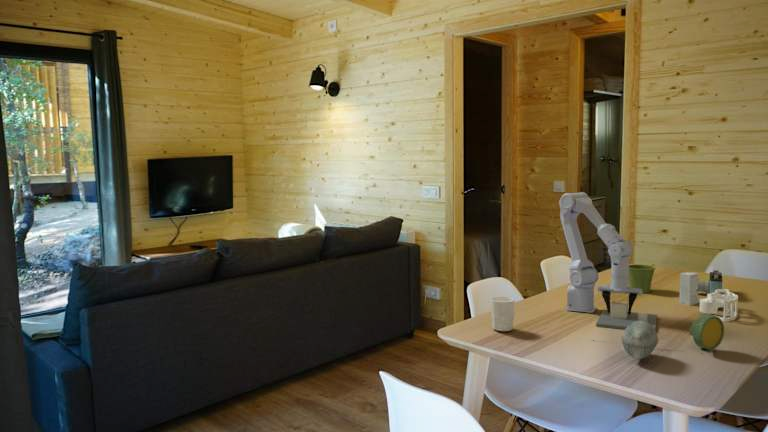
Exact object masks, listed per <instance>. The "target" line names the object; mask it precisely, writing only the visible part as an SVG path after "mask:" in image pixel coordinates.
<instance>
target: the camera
mask: <svg viewBox="0 0 768 432" xmlns="http://www.w3.org/2000/svg"><path fill="white" fill-rule="evenodd" d="M719 271H720V270H719V269H713V270H712V271H710V272H709V276H708V277H709V279H707V280H703V281H702V280H698V292H703V293H705V294H708V293H714V292H715V290H718V289H723V273H722V272H719ZM720 294H723V292H720Z"/></svg>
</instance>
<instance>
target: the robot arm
mask: <svg viewBox="0 0 768 432" xmlns="http://www.w3.org/2000/svg"><path fill="white" fill-rule="evenodd" d="M592 200H593V199H592V198H590V197H589V194H587V193H586V192H583V191H580V192H572V193H571V192H570V193H569V192H567V193H566V192H565V193H563V194H562V196H561V197H560V199H559V201H558V205H559V208H560V213H559V217H560V218H559V219H560V222H561V227H562V229H563V233H564V236H565V239H566V243H567V247H568V248H567V249H568V252H569V255H570V257H571V261H572V262H571V265H570V266H569V268H568V269H569V270H568V271H569V281H570V283H571V285H568V287H567V291H566V296H567V297H566V311H570V312H581V313H590V314H591V313H592V314H593V313H594V312H595V311H596V309H597V307H596V306H595V286H596V283H598V280H599V272H598V270H597V269H596V268H595V266H594V263H593V262H592V261H591V260H590V259H588V256H587V252H586V249H585V246H584V242H583V238H582V234H581V232H580V229H579V225H578V221H577V218H578V217H579V216H580V214H583V215H584V216H585V217H586V218H587V219H588V220H589V221H590V222H591V223H592V224H593V226H594V227H595V228H596V229H597V233H596V234H597V236H598V237H599V238H600V239H601V241H603V243H604V244H605V245H606V247H607V248H608V249H607V253H608V255H609V256H610V262H611V263H610V264H611V266H610V267H611V269H610V271H611V273H610V285H597V288H596V289H597V290H596V291H597V292H598V293H600V292H601V296H602V298H603V300H604V303H605V305H606V310H607V311H608V313H610V310H611V293H615V294H627V295H628V315H630V314H631V312H632V308H633V306H634V303H635V302H636V299H637V298H638V296H642V295H643V293H642V289H639V288H632V287H630V285H629V265H630V256H631V255H632V254H633V253H634V252H633V251H634V249H633V245H632V244H631V242H630V241H629V240H626V239H624V237H623V236H621V235H620V234H619V232H618V231H617V230H616V227H615V226H614V225H613V224H611V223H606V221H605V220H604V219H603V217H602V215H601V214H600V213H599V212H598V210H597V208H596V207H595V206H594V204H593V201H592Z"/></svg>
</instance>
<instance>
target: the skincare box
mask: <svg viewBox="0 0 768 432" xmlns="http://www.w3.org/2000/svg"><path fill="white" fill-rule="evenodd" d="M698 281H699V273H697V272H691V271H687V272H681V273H679V301H678V303H679V304H680V305H685V306H689V307H690V306H691V307H692V306H694V305H696V304H698V303H699V291H698Z"/></svg>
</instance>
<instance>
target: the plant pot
mask: <svg viewBox="0 0 768 432" xmlns="http://www.w3.org/2000/svg"><path fill="white" fill-rule="evenodd" d="M656 268H657V267H656V266H653V265H648V264H629V287H632V288H639V289H642V294H649V293H650V292H651V286H652V281H653V276H654V273H655V269H656Z"/></svg>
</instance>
